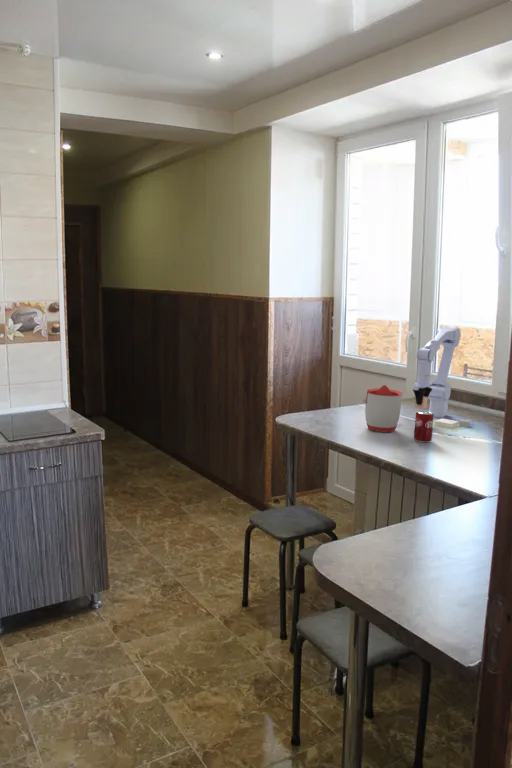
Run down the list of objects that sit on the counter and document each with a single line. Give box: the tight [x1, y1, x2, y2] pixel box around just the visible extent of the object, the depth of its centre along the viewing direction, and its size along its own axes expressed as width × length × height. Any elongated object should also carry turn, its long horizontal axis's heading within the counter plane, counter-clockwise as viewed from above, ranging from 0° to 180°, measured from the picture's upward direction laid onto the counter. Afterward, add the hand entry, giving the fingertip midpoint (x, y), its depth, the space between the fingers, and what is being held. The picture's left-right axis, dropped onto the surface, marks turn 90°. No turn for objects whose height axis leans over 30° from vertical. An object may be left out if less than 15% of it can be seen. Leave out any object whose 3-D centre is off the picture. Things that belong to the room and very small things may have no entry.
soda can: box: [413, 410, 435, 443], centre depth 268 cm, size 7×7×12 cm
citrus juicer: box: [360, 384, 403, 433], centre depth 283 cm, size 16×17×20 cm
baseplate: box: [433, 419, 468, 433], centre depth 293 cm, size 16×16×1 cm
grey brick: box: [459, 418, 471, 428], centre depth 294 cm, size 4×4×2 cm
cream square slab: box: [433, 417, 460, 428], centre depth 293 cm, size 8×8×2 cm
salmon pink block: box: [414, 396, 429, 410], centre depth 297 cm, size 4×4×5 cm
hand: (421, 403), depth 297 cm, fingers closed on salmon pink block, 4 cm apart
